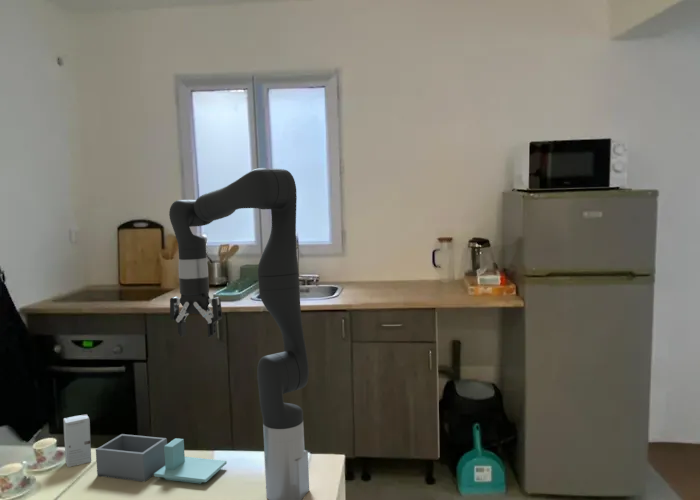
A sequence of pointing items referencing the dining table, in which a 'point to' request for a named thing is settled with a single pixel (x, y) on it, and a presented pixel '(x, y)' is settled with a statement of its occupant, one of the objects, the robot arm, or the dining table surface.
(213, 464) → the tub lid
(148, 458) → the box
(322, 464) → the dining table surface
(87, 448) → the skincare box
